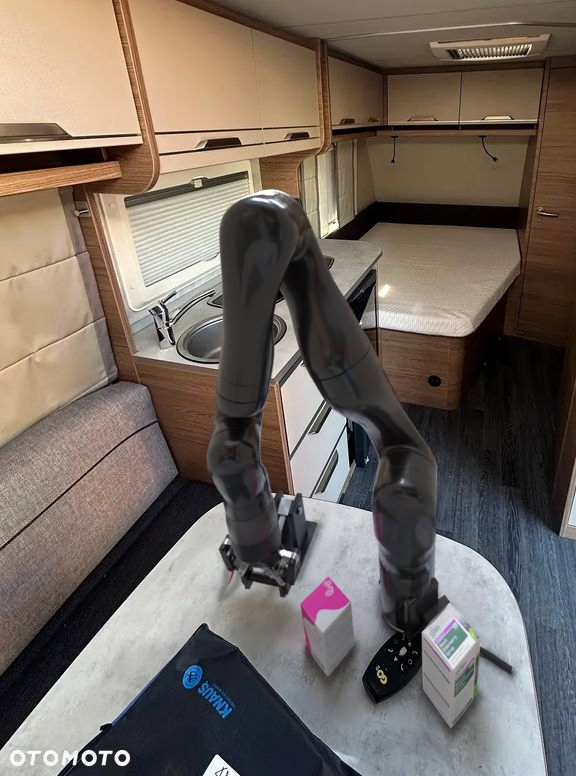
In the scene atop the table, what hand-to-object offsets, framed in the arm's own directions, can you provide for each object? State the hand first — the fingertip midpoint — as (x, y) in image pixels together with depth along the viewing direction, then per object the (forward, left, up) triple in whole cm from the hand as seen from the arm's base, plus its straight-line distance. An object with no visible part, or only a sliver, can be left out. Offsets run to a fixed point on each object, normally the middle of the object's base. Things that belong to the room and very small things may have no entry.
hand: (267, 587), depth 69 cm
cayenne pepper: (+11, +4, -4) cm, 12 cm away
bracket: (+7, -7, -4) cm, 11 cm away
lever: (+4, -4, +4) cm, 7 cm away
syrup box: (-27, -18, -4) cm, 32 cm away
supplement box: (-12, -6, -4) cm, 14 cm away
